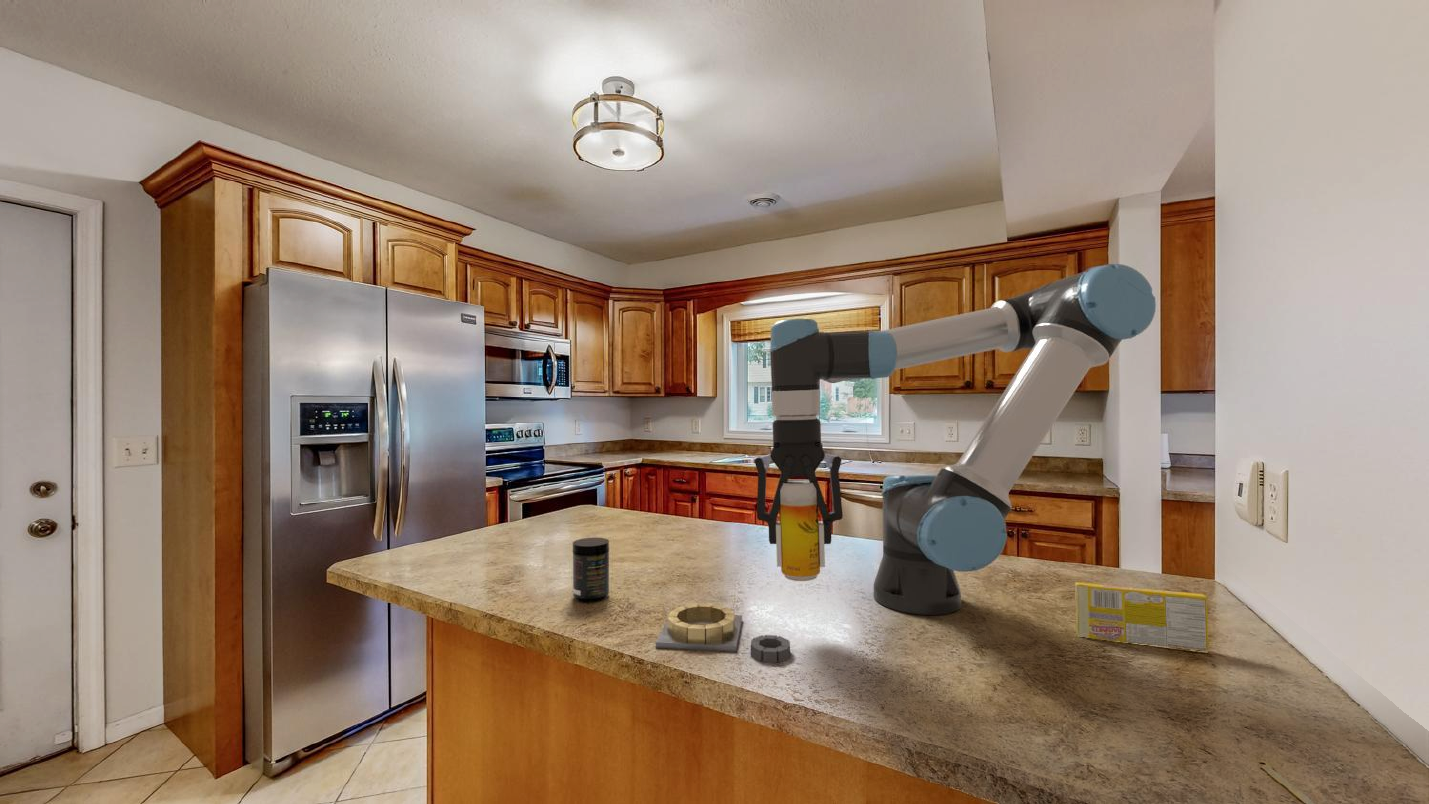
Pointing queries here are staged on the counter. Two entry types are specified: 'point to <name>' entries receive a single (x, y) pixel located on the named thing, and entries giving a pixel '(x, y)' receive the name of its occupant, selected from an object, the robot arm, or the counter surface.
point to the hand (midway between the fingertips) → (800, 563)
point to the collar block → (701, 628)
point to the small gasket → (770, 648)
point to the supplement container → (590, 569)
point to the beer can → (799, 530)
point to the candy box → (1142, 616)
